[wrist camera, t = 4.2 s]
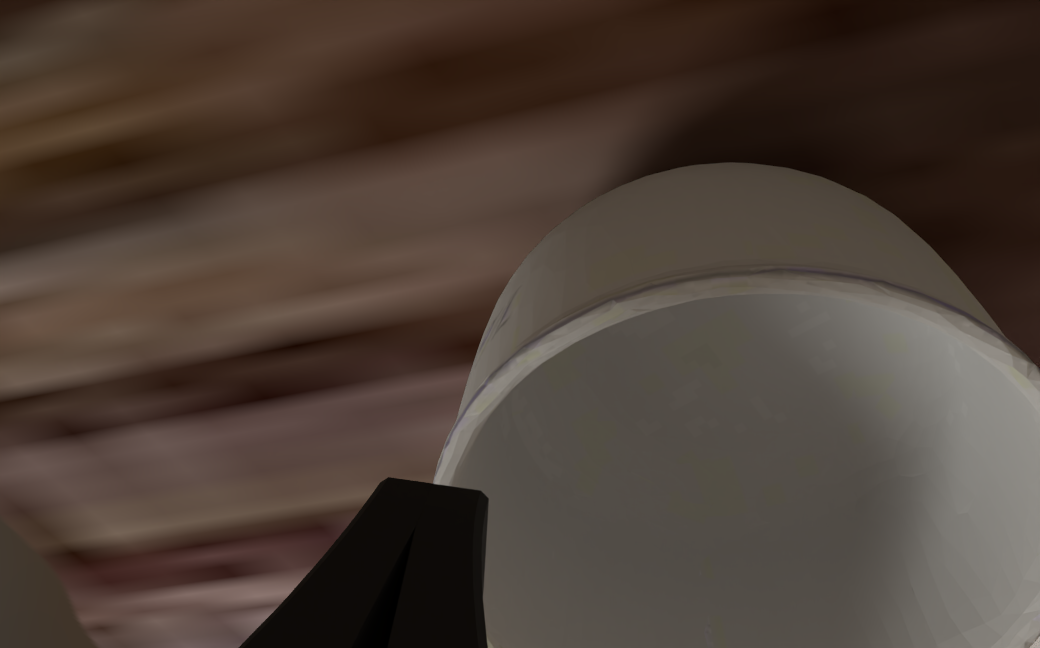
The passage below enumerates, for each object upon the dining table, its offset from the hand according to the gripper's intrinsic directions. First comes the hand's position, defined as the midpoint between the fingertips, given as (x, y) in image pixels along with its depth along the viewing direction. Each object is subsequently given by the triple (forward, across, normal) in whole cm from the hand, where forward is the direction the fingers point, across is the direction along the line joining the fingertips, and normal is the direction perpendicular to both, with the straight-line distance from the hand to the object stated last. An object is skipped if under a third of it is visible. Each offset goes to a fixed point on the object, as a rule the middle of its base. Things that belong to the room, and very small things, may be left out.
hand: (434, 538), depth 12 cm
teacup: (+11, -5, +4) cm, 12 cm away
